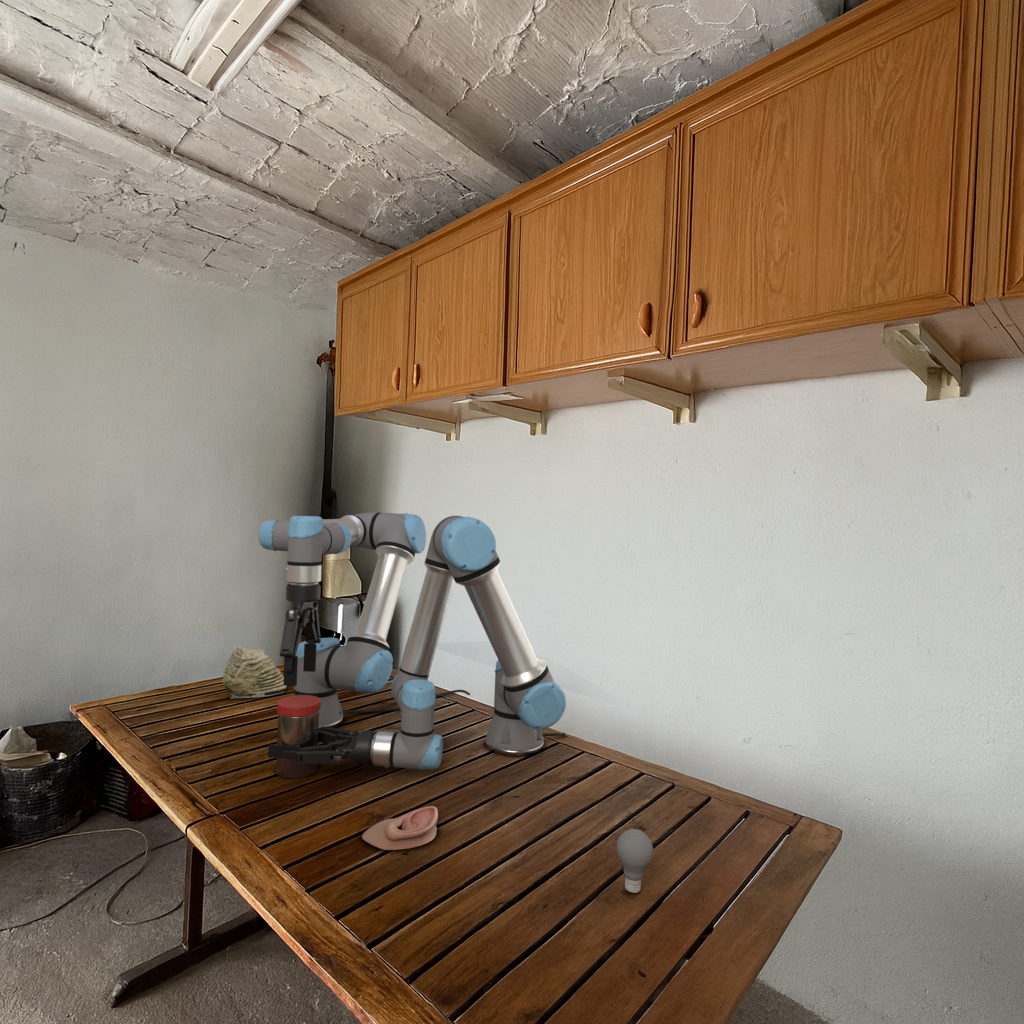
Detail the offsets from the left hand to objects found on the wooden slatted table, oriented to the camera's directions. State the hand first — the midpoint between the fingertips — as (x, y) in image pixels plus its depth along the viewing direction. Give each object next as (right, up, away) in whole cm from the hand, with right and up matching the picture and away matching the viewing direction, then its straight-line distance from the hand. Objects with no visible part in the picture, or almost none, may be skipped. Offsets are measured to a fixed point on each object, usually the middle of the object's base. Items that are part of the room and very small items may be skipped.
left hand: (300, 678), depth 146 cm
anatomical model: (+28, -23, -26) cm, 44 cm away
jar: (-1, -21, 0) cm, 21 cm away
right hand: (-5, -15, +1) cm, 16 cm away
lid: (0, -6, 0) cm, 6 cm away
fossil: (-32, -19, +52) cm, 64 cm away
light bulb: (+69, -25, -40) cm, 84 cm away
